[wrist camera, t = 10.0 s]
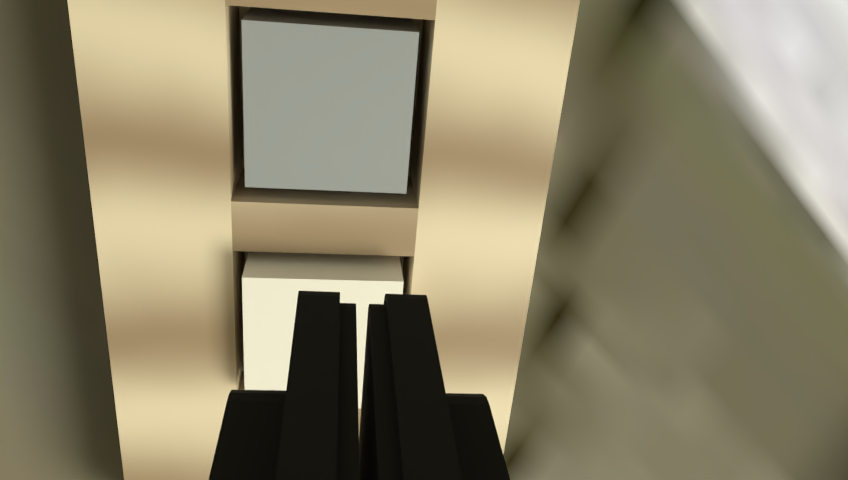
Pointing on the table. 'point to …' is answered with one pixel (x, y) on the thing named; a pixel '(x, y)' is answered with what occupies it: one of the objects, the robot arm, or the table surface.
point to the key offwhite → (277, 300)
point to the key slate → (327, 100)
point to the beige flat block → (305, 199)
